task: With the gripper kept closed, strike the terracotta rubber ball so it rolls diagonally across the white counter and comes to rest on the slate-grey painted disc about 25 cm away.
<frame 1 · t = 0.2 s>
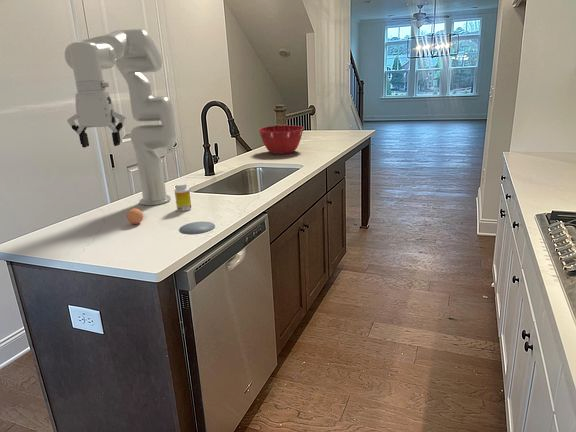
hand: (101, 146, 133), 31 cm above the worktop, tool pointing down, fingers open, 9 cm apart
mixing bowl: (282, 152, 281), on the worktop
supplement bottle: (184, 209, 172), on the worktop
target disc: (197, 227, 150), on the worktop
ball: (134, 216, 157), on the worktop
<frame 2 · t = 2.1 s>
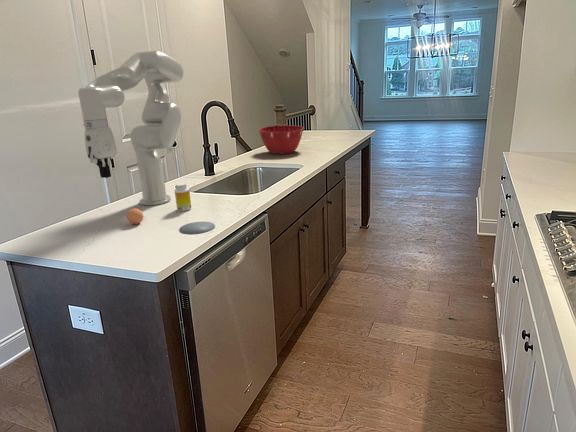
hand: (106, 177, 156), 17 cm above the worktop, tool pointing down, fingers closed
nothing on the worktop moved.
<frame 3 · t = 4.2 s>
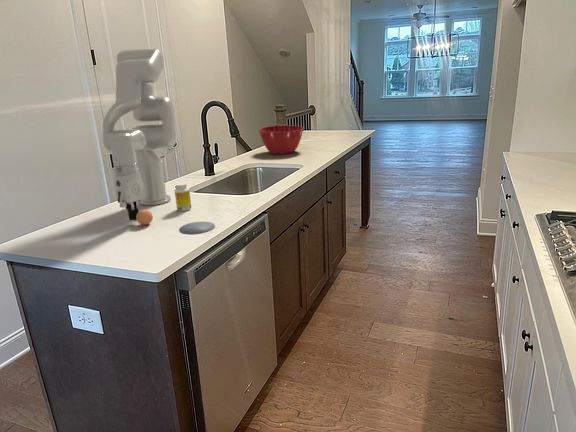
hand: (134, 219, 158), 2 cm above the worktop, tool pointing down, fingers closed
ball: (144, 217, 156), on the worktop
everything else where it was.
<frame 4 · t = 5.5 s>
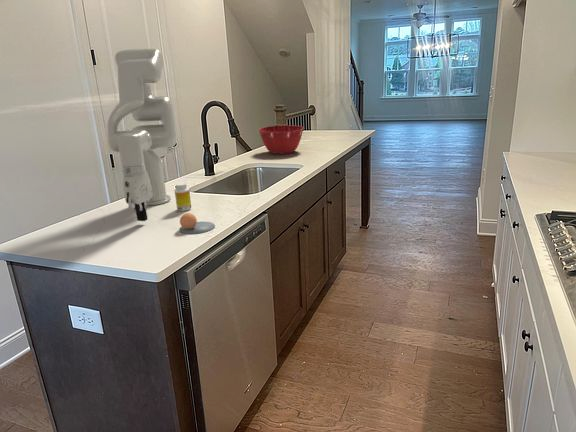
hand: (142, 220, 157), 2 cm above the worktop, tool pointing down, fingers closed
ball: (188, 221, 149), on the worktop
everything else where it was.
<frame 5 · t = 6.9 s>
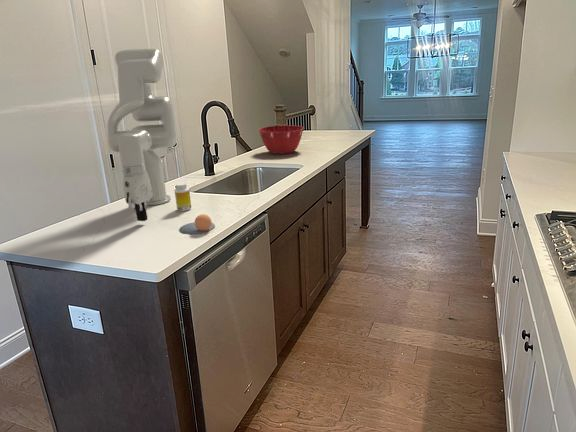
hand: (142, 220, 157), 2 cm above the worktop, tool pointing down, fingers closed
ball: (203, 222, 147), on the worktop
everything else where it was.
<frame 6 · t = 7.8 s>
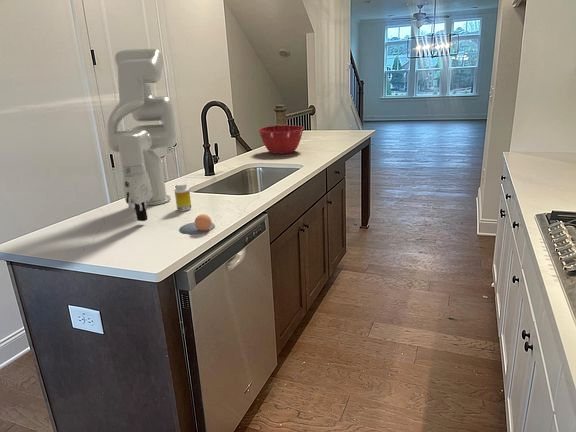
hand: (142, 220, 157), 2 cm above the worktop, tool pointing down, fingers closed
nothing on the worktop moved.
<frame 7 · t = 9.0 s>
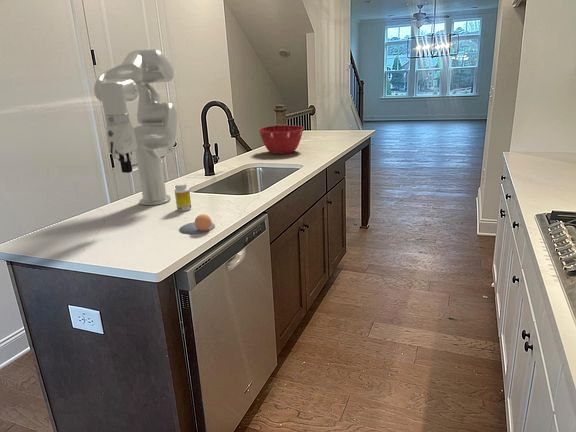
hand: (127, 171, 155), 19 cm above the worktop, tool pointing down, fingers closed
nothing on the worktop moved.
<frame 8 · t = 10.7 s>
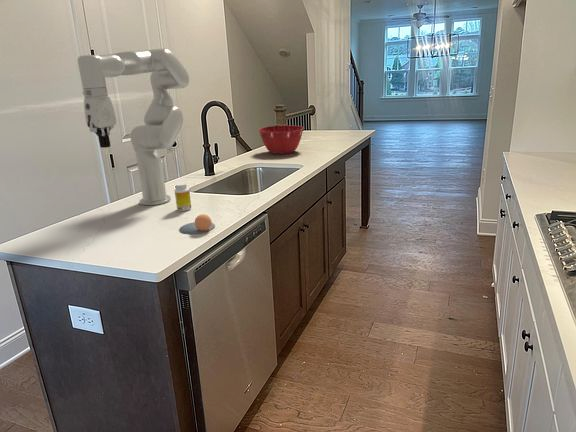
hand: (105, 147, 156), 27 cm above the worktop, tool pointing down, fingers closed
nothing on the worktop moved.
at the end: ball 4.2 cm from the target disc (horizontally); ball at rest at the end (0.0 cm/s); ball moved 28.8 cm from its start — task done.
